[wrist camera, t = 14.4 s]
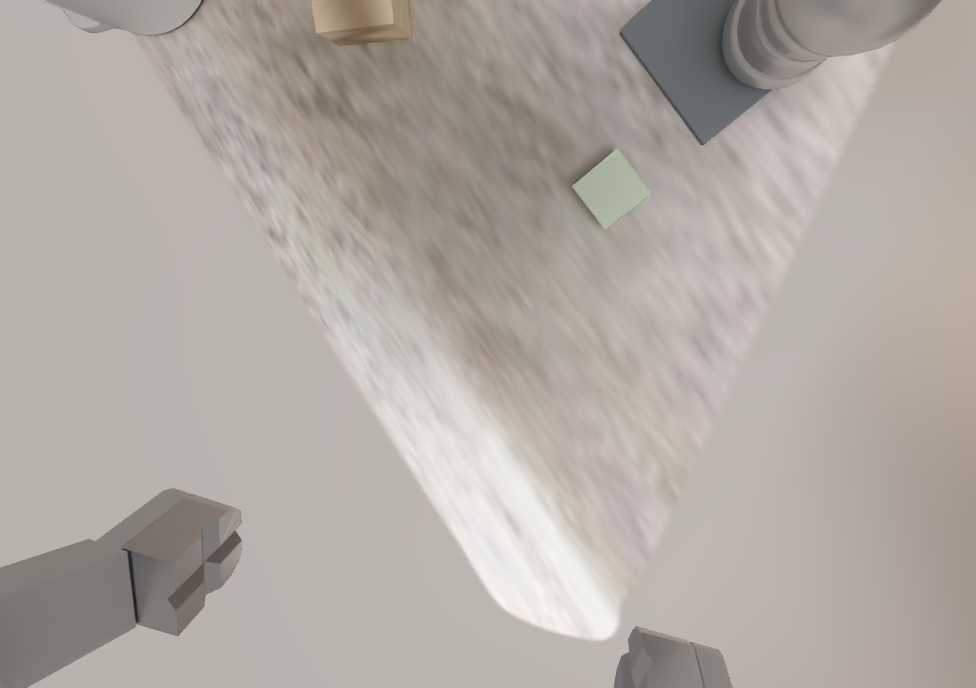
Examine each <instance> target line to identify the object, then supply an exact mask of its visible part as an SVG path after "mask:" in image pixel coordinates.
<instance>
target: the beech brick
mask: <svg viewBox="0 0 976 688" xmlns="http://www.w3.org/2000/svg"><path fill="white" fill-rule="evenodd" d="M311 3H312V10H313V17H314V23H315V30H316V33H317V34H318V35H320V36H322V37H324V38H326V39H328V40H330V41H331V42H333V43H335V44H337V45H339V46H347V45H356V44H364V43H372V42H381V41H389V40H397V39H406V38H412V37H411V26H410V15H409V4H408V0H311Z"/></svg>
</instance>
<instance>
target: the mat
mask: <svg viewBox="0 0 976 688" xmlns="http://www.w3.org/2000/svg"><path fill="white" fill-rule="evenodd" d="M734 2H735V0H652V1H651V2H650V3H649V4H648V5H647V6H646V7H645V8H644V9H643V10H642V11H641V12H640V13H639V14H638V15H637V16H636V17H635V18H634V19H633V20H631V21H630V22H629V23H628V24H627V25H626V26H625V27H624V28H623V29H622V30H621V32H620V35H621V36H622V38H623V39H624V40H625V42H626V43H627V44H628V46H629V47H630V48H631V50H632V51H633V52H634V54H635V55H636V57H637V58H638V59H639V61H640V62H641V63H642V65H643V66H644V67H645V69H646V70H647V71H648V73H649V74H650V76H651V77H652V78H653V80H654V81H655V82H656V84H657V85H658V86H659V88H660V89H661V90H662V92H663V93H664V95H665V96H666V97H667V99H668V100H669V101H670V103H671V104H672V105H673V107H674V108H675V109H676V111H677V112H678V114H679V115H680V116H681V118H682V119H683V120H684V122H685V123H686V124H687V126H688V127H689V128H690V130H691V131H692V133H693V134H694V135H695V137H696V138H697V139H698V141H699V142H700V143H701V145H704V144H705V143H707V142H708V141H709V140H710V139H711V138H713V137H714V136H715V135H716V134H718V133H719V132H720V131H721V130H723V129H724V128H725V127H726V126H727V125H729V124H730V123H731V122H732V121H734V120H735V119H736V118H737V117H739V116H740V115H741V114H742V113H744V112H745V111H746V110H747V109H748V108H750V107H751V106H752V105H753V104H755V103H756V102H757V101H758V100H760V99H761V98H762V97H763V96H764V95H766V94H767V93H768V92H769V91H771V90H772V89H761V88H755V87H752V86H750V85H747V84H744V83H743V82H741V81H740V80H738V79H737V78H736V77H735V76H734V75H733V74H732V73H731V72H730V70H729V68H728V66H727V65H726V62H725V59H724V56H723V48H722V39H723V29H724V25H725V21H726V17H727V15H728V13H729V11H730V9H731V6H732V5H733V3H734Z"/></svg>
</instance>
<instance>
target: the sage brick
mask: <svg viewBox="0 0 976 688" xmlns="http://www.w3.org/2000/svg"><path fill="white" fill-rule="evenodd" d="M572 187H573V189H574V190H575V191H576V192H577V194H578V195H579V196H580V198H581V199H582V200H583V202H584V203H585V204H586V206H587V207H588V208H589V210H590V211H591V212H592V213H593V215H594V216H595V217H596V219H597V220H598V221H599V223H600V224H601V225H602V227H603V228H604V229H606V228H607V227H609V226H610V225H611V224H613V223H614V222H615V221H616V220H618V219H619V218H620V217H622V216H623V215H624V214H625V213H627V212H628V211H629V210H631V209H632V208H633V207H634V206H636V205H637V204H638V203H640V202H641V201H642V200H643V199H645V198H646V197H647V196H649V195H650V194H651V192H650V190H649V189H648V188H647V186H646V185H645V184H644V182H643V181H642V180H641V178H640V177H639V176H638V174H637V173H636V171H635V170H634V169H633V167H632V166H631V165H630V163H629V162H628V161H627V159H626V158H625V156H624V155H623V154H622V152H621V151H620V150H619V148H617V149H615V150H614V151H613V152H612V153H611V154H610V155H608V156H607V157H606V158H605V159H604V160H602V161H601V162H600V163H599V164H598V165H596V166H595V167H594V168H593V169H592V170H590V171H589V172H588V173H587V174H586V175H585V176H583V177H582V178H581V179H580V180H579V181H577V182H576V183H575V184H574V185H573V186H572Z"/></svg>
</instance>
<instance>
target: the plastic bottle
mask: <svg viewBox="0 0 976 688" xmlns="http://www.w3.org/2000/svg"><path fill="white" fill-rule="evenodd" d="M940 2H941V0H735V2H734V3H733V5H732V6H731V9H730V11H729V13H728V15H727V17H726V21H725V25H724V29H723V39H722V48H723V56H724V59H725V62H726V65H727V66H728V68H729V70H730V72H731V73H732V74H733V75H734V76H735V77H736V78H737V79H738V80H740V81H741V82H743V83H744V84H747V85H750V86H752V87H755V88H761V89H778V88H782V87H786V86H789V85H792V84H794V83H796V82H798V81H800V80H802V79H803V78H805V77H806V76H808V75H809V74H811V73H812V72H813V71H814V70H815V69H816V68H817V67H818V66H819V65H820V64H821V63H823V62H824V61H825V60H826V58H827V57H831V56H849V55H855V54H859V53H863V52H867V51H871V50H874V49H878V48H881V47H883V46H885V45H887V44H889V43H892V42H894V41H896V40H898V39H899V38H901V37H902V36H904V35H905V34H907V33H908V32H910V31H911V30H913V29H914V28H915V27H916V26H917V25H918V24H920V23H921V22H922V21H923V20H924V19H925V18H927V17H928V16H929V15H930V13H931V12H932V11H933V10H934V9H935V7H937V5H938V4H939V3H940Z"/></svg>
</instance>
